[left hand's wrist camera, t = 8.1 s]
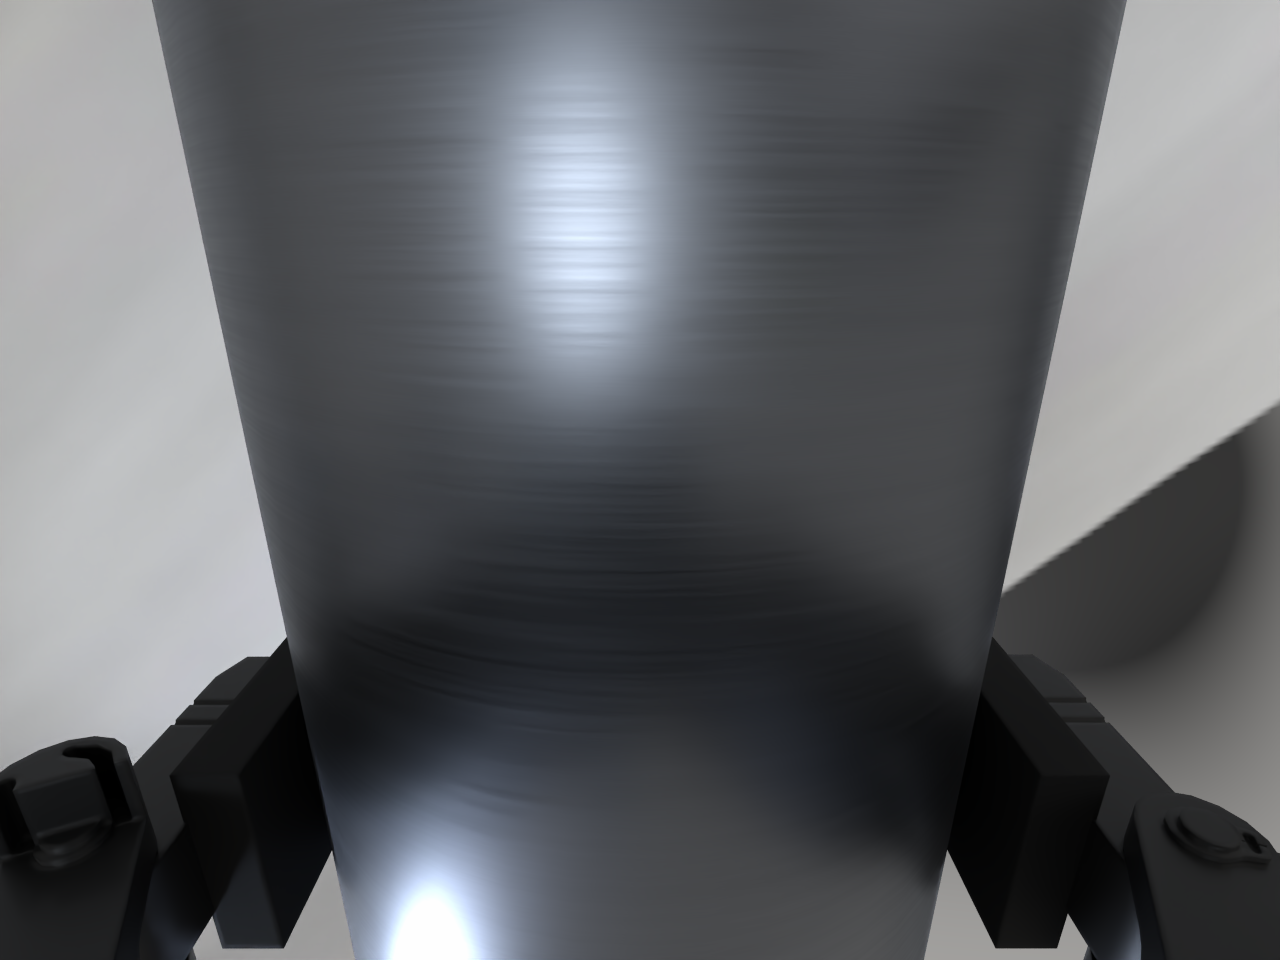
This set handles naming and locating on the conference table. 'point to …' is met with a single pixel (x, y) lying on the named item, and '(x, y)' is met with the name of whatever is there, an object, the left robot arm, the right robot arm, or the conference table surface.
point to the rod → (639, 437)
